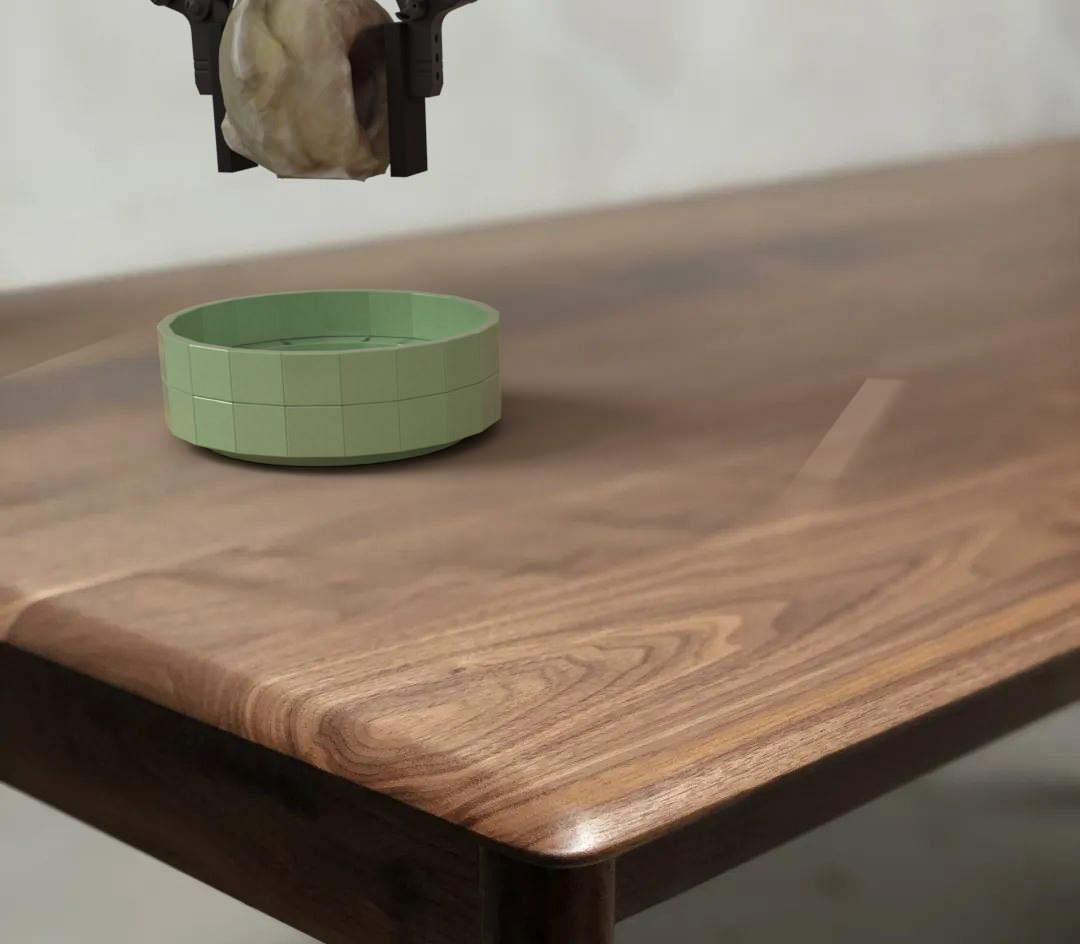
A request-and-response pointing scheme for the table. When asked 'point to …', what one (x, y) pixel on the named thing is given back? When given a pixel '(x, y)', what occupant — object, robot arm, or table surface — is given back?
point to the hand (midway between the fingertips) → (322, 171)
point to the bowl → (331, 375)
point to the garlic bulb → (307, 87)
